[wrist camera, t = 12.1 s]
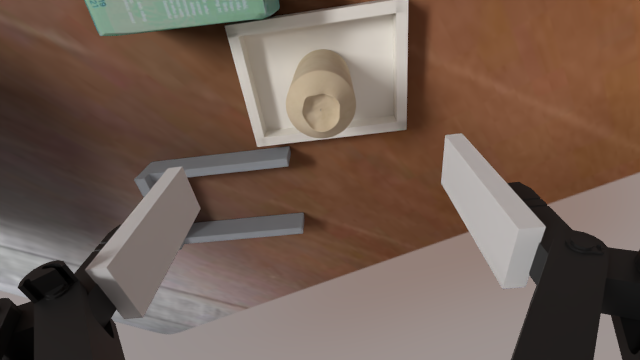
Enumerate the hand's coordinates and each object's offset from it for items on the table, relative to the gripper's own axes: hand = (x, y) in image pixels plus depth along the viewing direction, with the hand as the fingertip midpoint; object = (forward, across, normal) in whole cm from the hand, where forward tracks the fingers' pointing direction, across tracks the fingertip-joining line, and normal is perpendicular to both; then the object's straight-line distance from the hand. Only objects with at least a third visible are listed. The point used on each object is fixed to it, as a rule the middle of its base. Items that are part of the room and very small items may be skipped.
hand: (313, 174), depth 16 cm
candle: (+19, 0, 0) cm, 19 cm away
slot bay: (+19, -12, -13) cm, 27 cm away
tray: (+19, 0, 0) cm, 19 cm away
